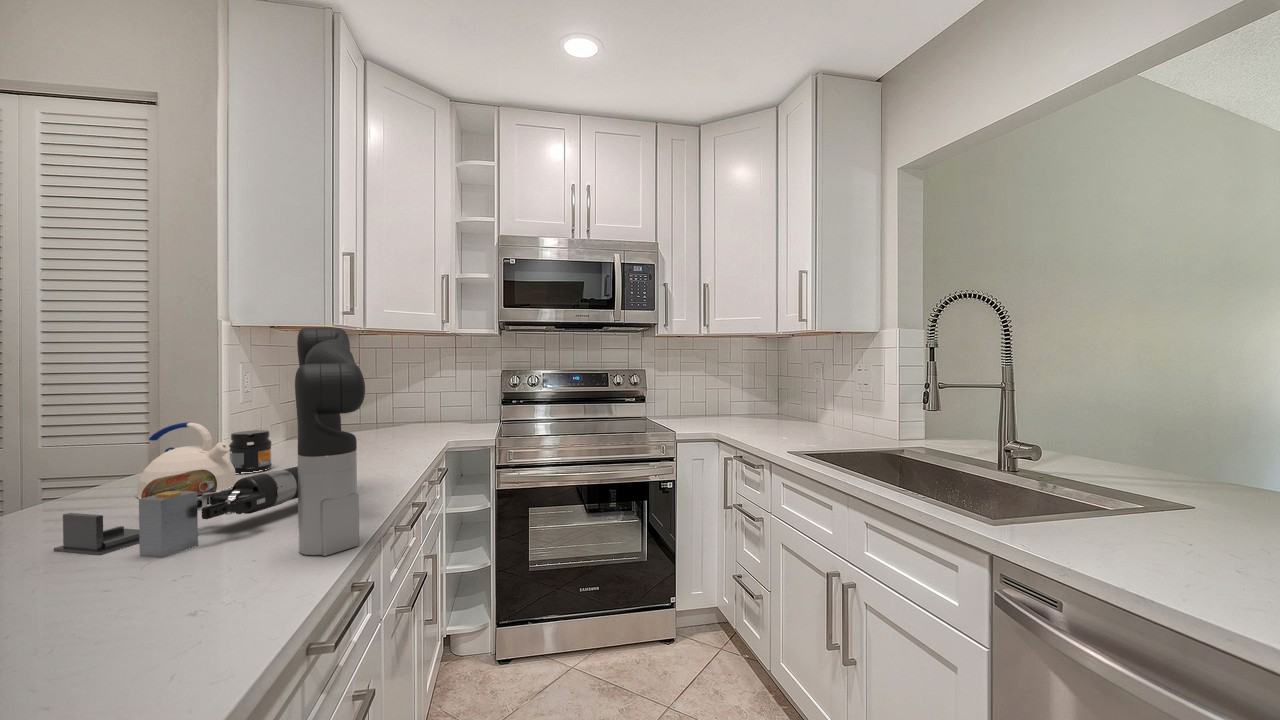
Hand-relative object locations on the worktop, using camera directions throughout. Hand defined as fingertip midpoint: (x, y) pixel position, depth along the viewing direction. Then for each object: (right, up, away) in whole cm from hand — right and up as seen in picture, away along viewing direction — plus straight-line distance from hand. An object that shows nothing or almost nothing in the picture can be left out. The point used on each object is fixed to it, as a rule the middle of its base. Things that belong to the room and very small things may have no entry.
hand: (185, 512), depth 97 cm
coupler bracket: (-15, -6, +2) cm, 17 cm away
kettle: (-35, -6, +42) cm, 55 cm away
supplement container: (-36, -6, +65) cm, 74 cm away
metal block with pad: (0, -6, -3) cm, 7 cm away
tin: (-22, -6, +24) cm, 33 cm away
